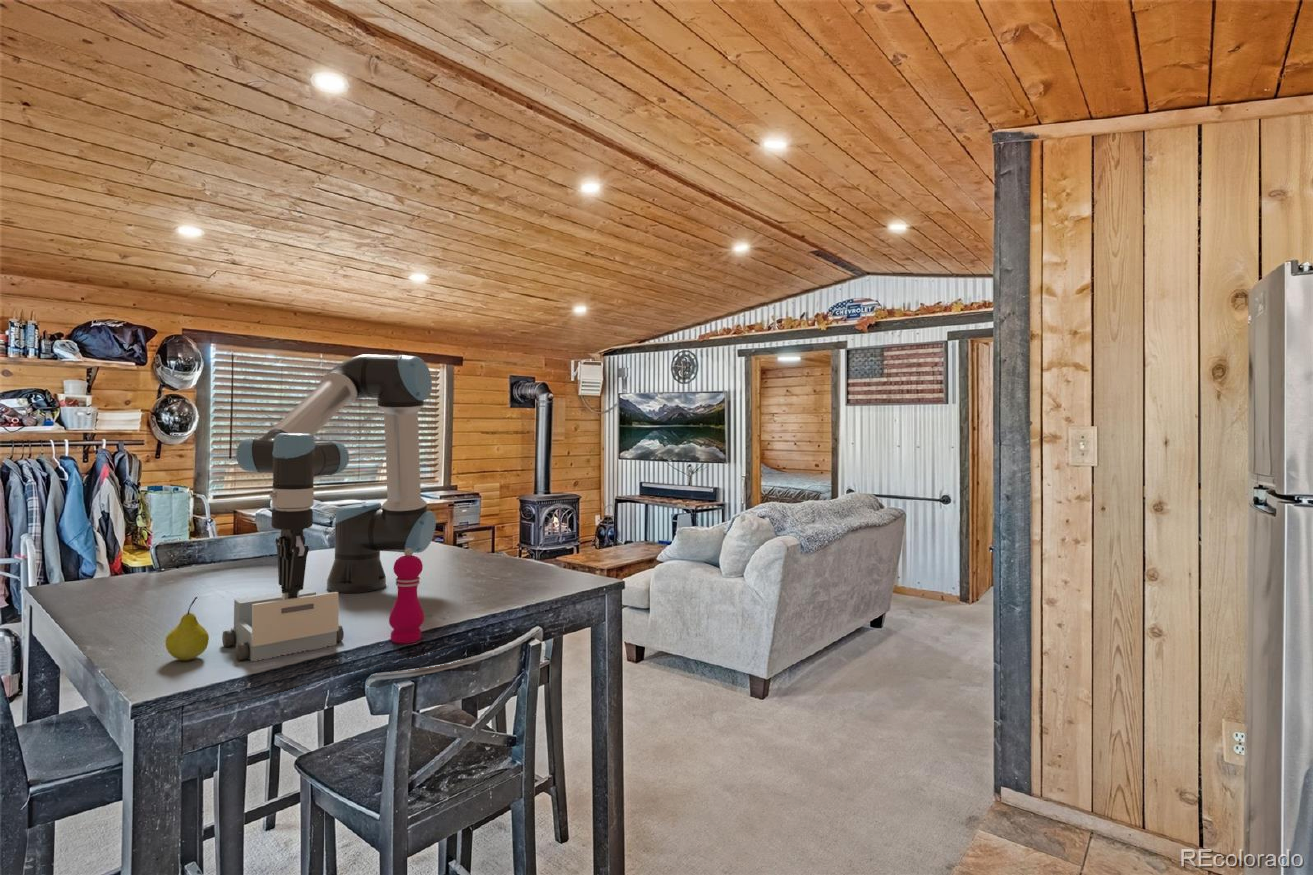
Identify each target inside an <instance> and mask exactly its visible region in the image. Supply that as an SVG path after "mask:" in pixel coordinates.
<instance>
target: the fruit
mask: <svg viewBox="0 0 1313 875" xmlns="http://www.w3.org/2000/svg"><path fill="white" fill-rule="evenodd" d="M197 599H198V596H195V598H194V599H193V600H192V602H191V603H190V605H189V607H188V610H187V613H185V614H184V615H183V616H182V617H181V619H180V621H179V623H178V624H177V626H176V627H174V628H173V629H172V630H171V631H170V632H169V633H168V634H167V636H166V638H165V641H164V642H165V646H166V650H167V652H168V654H169V655H171V657H173V658H174V659H177V660H179V661H191V660H194V659H196V658H197V657H198V656H200V655H202V654H203V653H204V652H205V651H206V650H207V648H208V645H209V637H210V636H209V633H208V631H207V630H206V629H205V628H204V626H202V625H201V624H200V623H199V620H197V617H196V615H195V614H194V613H190V611H191V607H192V606H193V605H194V604H195V602H196V600H197Z"/></svg>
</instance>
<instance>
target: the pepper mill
mask: <svg viewBox="0 0 1313 875" xmlns="http://www.w3.org/2000/svg"><path fill="white" fill-rule="evenodd" d="M403 554H404V555H402V556H400V557H398V558H397V559H396V560H395V562H394V564H393V567H392V568H393V573H394V574H395V576H396V578H395V586H397V597H396V601H395V602H394V605H393V607H392V608H391V612H390V614H389V619H388V624H389V625H390V627H391V628H392V629H393V630H391V632H390V641H391V642H393V643H397V644H411V643H416V642H418V641H420V640H421V638H422V629H421V628H420V627H421V626H422V625H423V623H424V622H425V614H424V610H423V607H422V604H420V600H419V597H418V596H419V595H418V585H420V583H421V582H420V580H421V578H420V575H421V573H422V571H423V562H422V560H421V558H419V556H415V555H414V553H413V551H412V549H410V548H408V549H406V550H405V551H404V552H403Z"/></svg>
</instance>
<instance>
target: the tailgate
mask: <svg viewBox="0 0 1313 875" xmlns="http://www.w3.org/2000/svg"><path fill="white" fill-rule="evenodd" d="M339 626H340V624H339V592H333V591H331V592H327V593H325V592H324V593H320V594H316V595H312V596H305V597H298V598H291V599H284V600H278V601H271V602H264V603H257V604H252V646H259V645H264V644H269V643H275V642H280V641H286V640H291V639H296V638H302V637H307V636H313V635H318V634H323V633H329V632H334V631H339Z"/></svg>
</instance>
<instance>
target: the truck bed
mask: <svg viewBox="0 0 1313 875" xmlns="http://www.w3.org/2000/svg"><path fill="white" fill-rule="evenodd" d="M312 595H317V592H316V591H315V590H313V589H311V588H306V589H304V588H303V590H300V591H299V597H305V596H312ZM278 600H282V592H277V593H269V594H262V595H256V596H249V597H247V596H246V597H240V598H235V599H234V602H233V603H234V604H233V607H234V608H233V627H231V628H230V629H229V630H225V631H223V632H222V634H221V635H222V636H221V639H222V645H223V648H227V647H233V646H235V656H236V658H235V659H236V660H237V661H239V662H240V661H245V660H249V659H250V660H251V661H250V660H249V661H250V662H251V663H253V662H252V661H254V662H258V661H257V660H259V661H263V660H262V659H264V660H268V659H273V658H272V657H274V658H277V657H276V656H279V655H284V656H287V654H289V655H292V654H291V653H294V654H298V653H297V652H299V653H302V652H301V651H304V652H307V651H306V650H309V651H313V650H318V649H319V650H320V649H324V648H328V647H327V646H329V647H333V646H337V642H341V641H343V639H344V637H345V636H344V628H343V626H342V625H339V631H334V632H329V633H323V634H318V635H313V636H307V637H302V638H296V639H291V640H286V641H280V642H275V643H269V644H264V645H259V646H252V604H257V603H264V602H271V601H278ZM323 647H324V648H323ZM279 657H280V656H279Z"/></svg>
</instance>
